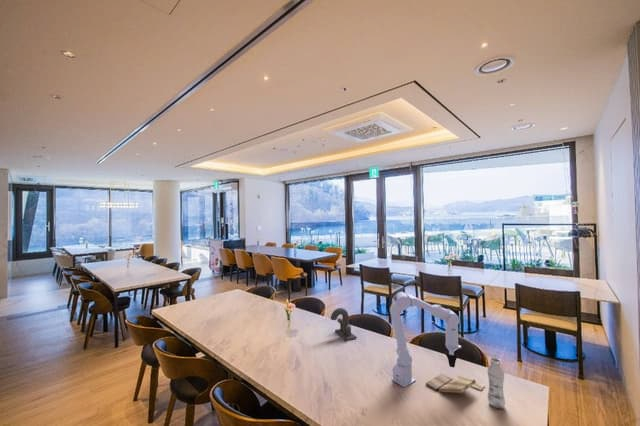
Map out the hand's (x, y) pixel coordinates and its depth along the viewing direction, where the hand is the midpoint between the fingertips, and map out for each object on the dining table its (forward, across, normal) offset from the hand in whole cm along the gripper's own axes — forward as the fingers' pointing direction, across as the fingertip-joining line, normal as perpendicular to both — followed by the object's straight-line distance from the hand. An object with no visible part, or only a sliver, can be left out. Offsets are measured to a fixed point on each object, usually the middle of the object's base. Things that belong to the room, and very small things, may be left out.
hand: (452, 363), depth 137 cm
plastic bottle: (+10, -9, -18) cm, 22 cm away
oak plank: (+7, -7, -2) cm, 11 cm away
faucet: (+10, +24, +73) cm, 77 cm away
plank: (+11, +4, -7) cm, 13 cm away
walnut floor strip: (+10, -3, +6) cm, 12 cm away
